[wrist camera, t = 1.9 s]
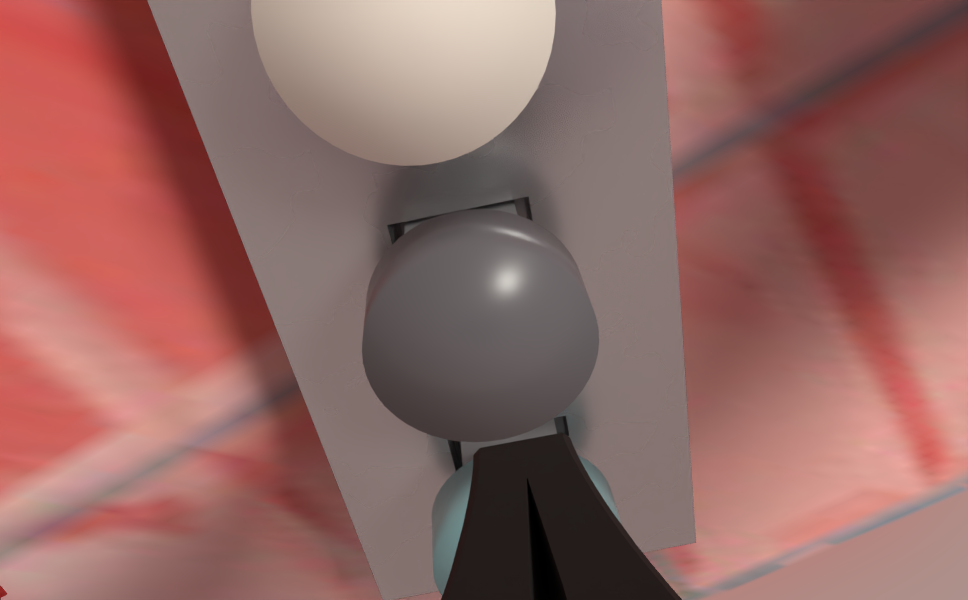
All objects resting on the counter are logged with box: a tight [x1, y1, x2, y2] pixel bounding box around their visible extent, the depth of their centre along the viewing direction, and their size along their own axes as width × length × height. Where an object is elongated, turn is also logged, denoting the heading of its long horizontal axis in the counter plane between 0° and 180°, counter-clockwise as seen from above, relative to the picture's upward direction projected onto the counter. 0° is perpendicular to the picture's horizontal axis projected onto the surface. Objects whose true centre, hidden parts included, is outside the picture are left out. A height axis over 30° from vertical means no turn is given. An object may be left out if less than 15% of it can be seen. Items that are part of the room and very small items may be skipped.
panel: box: [147, 0, 696, 600], centre depth 19 cm, size 9×20×3 cm, turn 11°
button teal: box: [432, 418, 621, 596], centre depth 20 cm, size 4×4×4 cm
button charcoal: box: [362, 200, 599, 442], centre depth 16 cm, size 4×4×4 cm
